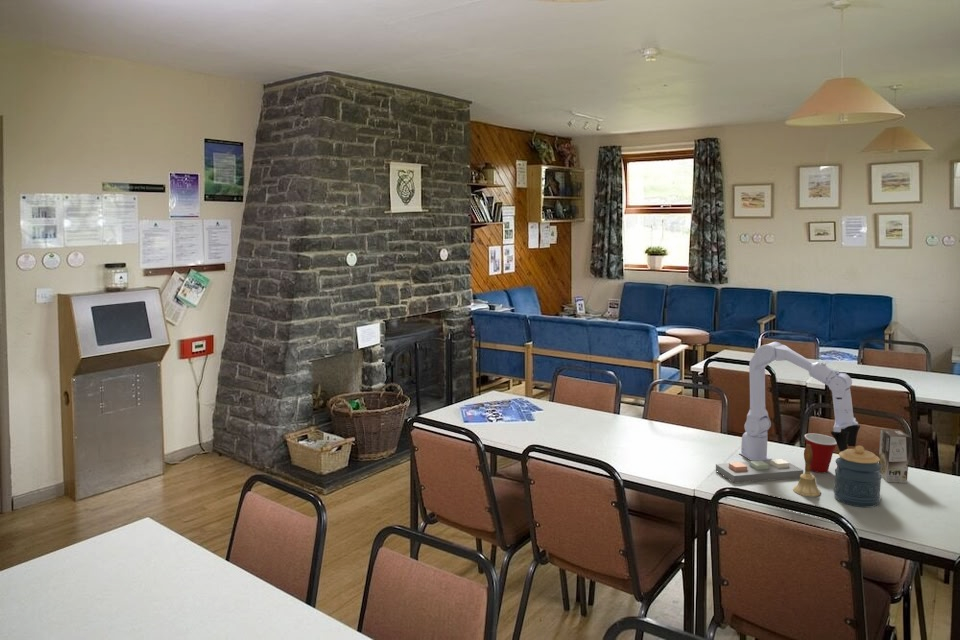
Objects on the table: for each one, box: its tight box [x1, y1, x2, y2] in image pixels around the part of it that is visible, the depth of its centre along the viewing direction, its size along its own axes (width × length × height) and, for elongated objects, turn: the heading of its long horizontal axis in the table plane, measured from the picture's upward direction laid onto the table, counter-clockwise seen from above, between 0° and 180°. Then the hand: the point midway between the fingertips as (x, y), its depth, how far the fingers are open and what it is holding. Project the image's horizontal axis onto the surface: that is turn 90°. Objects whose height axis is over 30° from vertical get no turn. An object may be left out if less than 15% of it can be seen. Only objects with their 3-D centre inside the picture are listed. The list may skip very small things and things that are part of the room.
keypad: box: [715, 460, 804, 484], centre depth 242 cm, size 12×26×2 cm, turn 100°
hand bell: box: [792, 444, 822, 497], centre depth 225 cm, size 8×8×16 cm
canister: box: [833, 445, 883, 508], centre depth 218 cm, size 13×13×18 cm
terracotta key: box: [728, 461, 747, 472], centre depth 241 cm, size 4×4×2 cm
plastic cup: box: [804, 432, 837, 474], centre depth 245 cm, size 11×11×12 cm
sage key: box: [749, 460, 769, 470], centre depth 242 cm, size 4×4×2 cm
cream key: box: [770, 458, 790, 468], centre depth 244 cm, size 4×4×2 cm
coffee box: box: [878, 428, 911, 484], centre depth 236 cm, size 9×6×16 cm
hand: (847, 448), depth 236 cm, fingers open, 7 cm apart
